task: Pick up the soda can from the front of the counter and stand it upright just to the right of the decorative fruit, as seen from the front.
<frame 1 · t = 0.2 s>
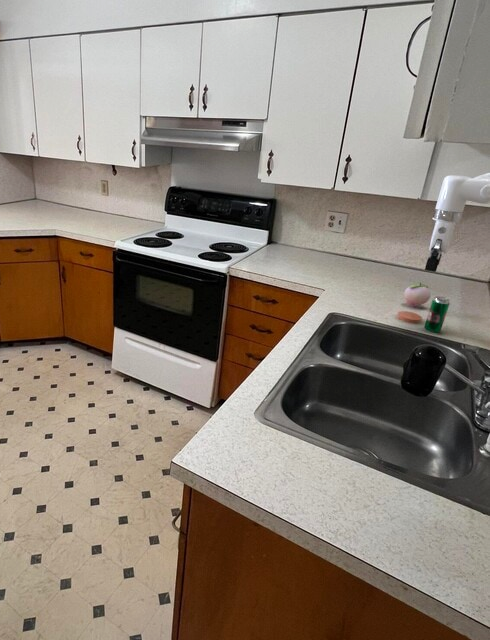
hand: (431, 267, 141), 22 cm above the worktop, tool pointing down, fingers open, 9 cm apart
decorative fruit: (414, 307, 170), on the worktop
soda can: (431, 330, 149), on the worktop
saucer: (408, 318, 158), on the worktop
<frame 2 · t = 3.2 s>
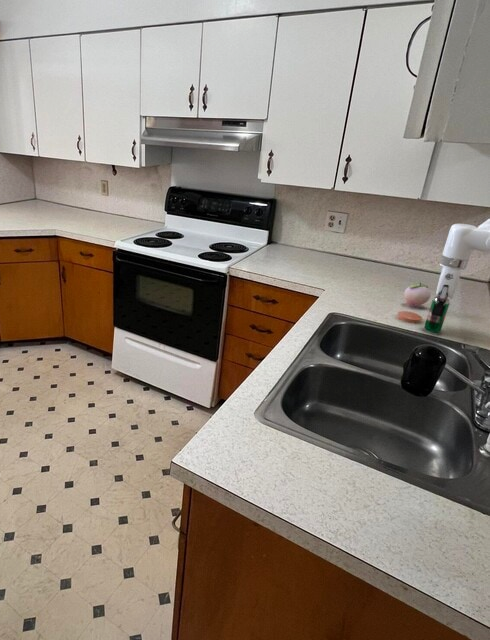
hand: (437, 312, 146), 7 cm above the worktop, tool pointing down, fingers closed on soda can, 5 cm apart
soda can: (431, 330, 149), on the worktop, touching gripper
everything else where it was.
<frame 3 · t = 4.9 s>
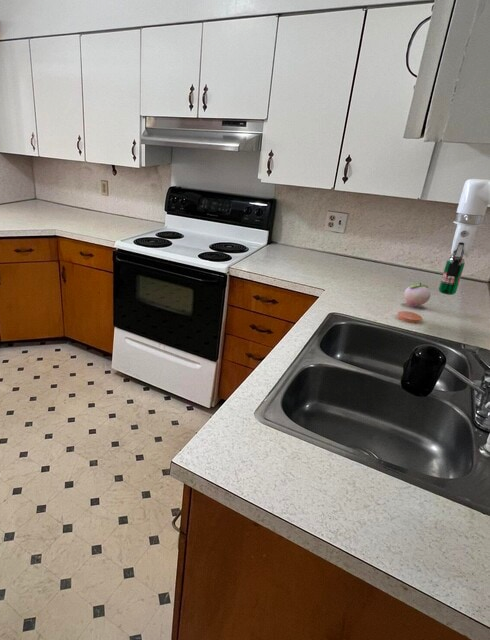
hand: (452, 273, 142), 21 cm above the worktop, tool pointing down, fingers closed on soda can, 5 cm apart
soda can: (446, 293, 144), point 14 cm above the worktop, touching gripper
everything else where it was.
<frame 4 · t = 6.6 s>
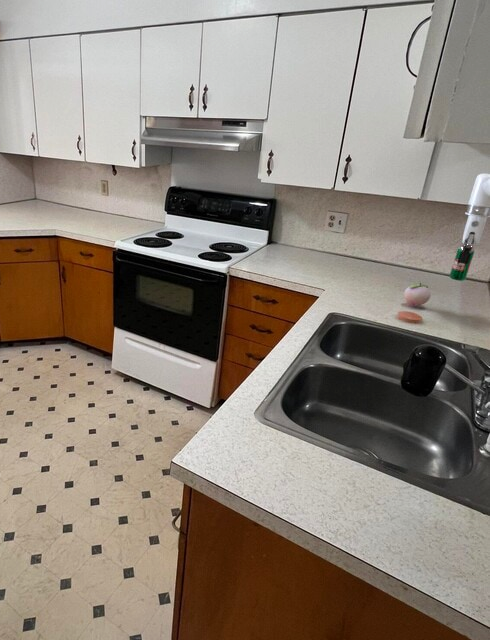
hand: (462, 261, 154), 22 cm above the worktop, tool pointing down, fingers closed on soda can, 5 cm apart
soda can: (456, 279, 156), point 15 cm above the worktop, touching gripper
everything else where it was.
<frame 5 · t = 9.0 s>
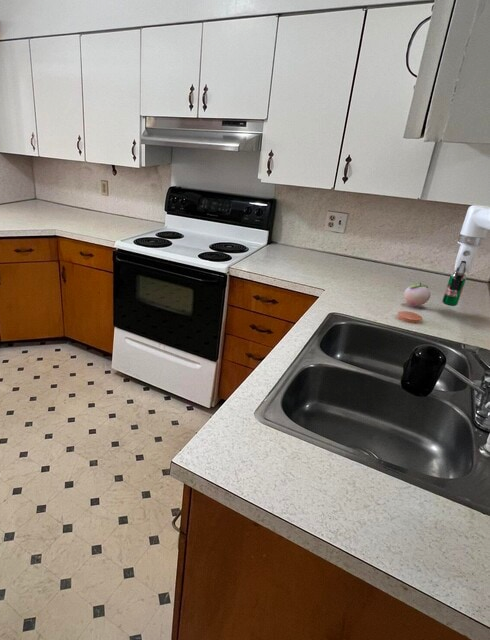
hand: (455, 287, 160), 11 cm above the worktop, tool pointing down, fingers closed on soda can, 5 cm apart
soda can: (449, 304, 163), point 4 cm above the worktop, touching gripper
everything else where it was.
when the fingers open (7 cm above the worktop, at t = 10.5 s): soda can stays where it is, on the worktop.
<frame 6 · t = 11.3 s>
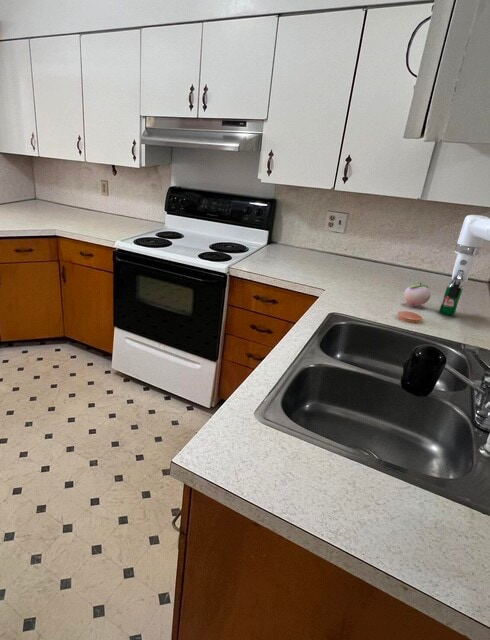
hand: (453, 293, 161), 8 cm above the worktop, tool pointing down, fingers open, 9 cm apart
soda can: (446, 314, 164), on the worktop
everything else where it was.
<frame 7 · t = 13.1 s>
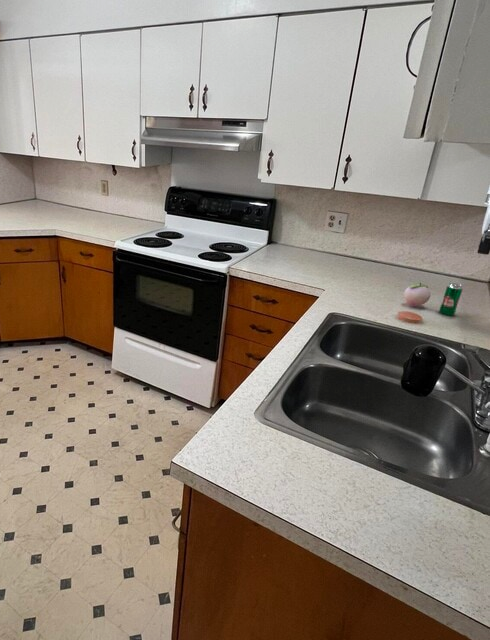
hand: (483, 251, 147), 27 cm above the worktop, tool pointing down, fingers open, 9 cm apart
nothing on the worktop moved.
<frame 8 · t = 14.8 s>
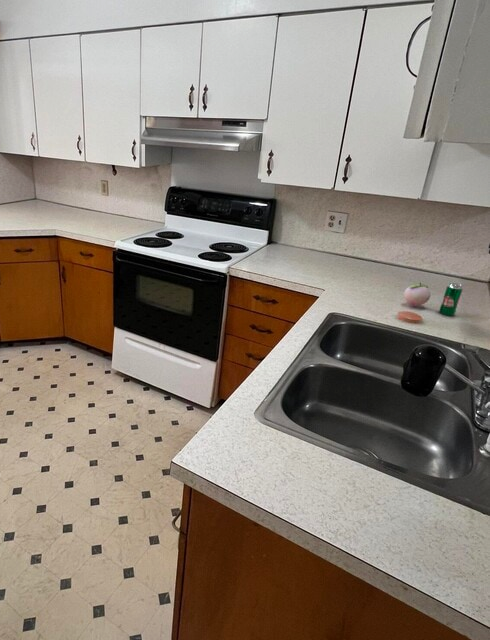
nothing on the worktop moved.
at the end: soda can inside the target area on the worktop beside the decorative fruit (0.4 cm from its centre), on the worktop; soda can tilted 0°; the gripper is holding nothing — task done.
